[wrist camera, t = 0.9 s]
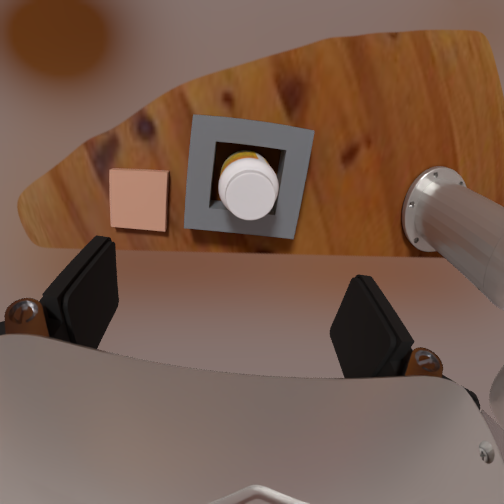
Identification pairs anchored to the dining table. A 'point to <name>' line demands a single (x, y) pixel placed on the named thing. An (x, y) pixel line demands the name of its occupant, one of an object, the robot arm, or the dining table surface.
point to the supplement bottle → (248, 185)
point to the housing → (250, 133)
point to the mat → (139, 198)
